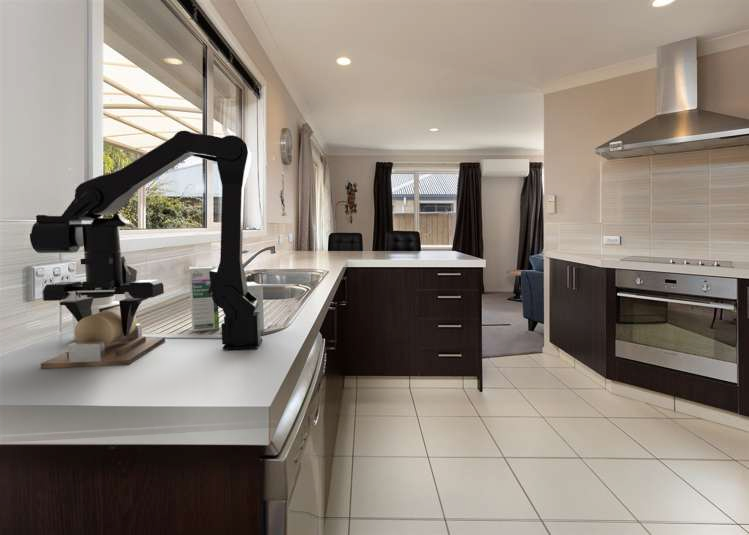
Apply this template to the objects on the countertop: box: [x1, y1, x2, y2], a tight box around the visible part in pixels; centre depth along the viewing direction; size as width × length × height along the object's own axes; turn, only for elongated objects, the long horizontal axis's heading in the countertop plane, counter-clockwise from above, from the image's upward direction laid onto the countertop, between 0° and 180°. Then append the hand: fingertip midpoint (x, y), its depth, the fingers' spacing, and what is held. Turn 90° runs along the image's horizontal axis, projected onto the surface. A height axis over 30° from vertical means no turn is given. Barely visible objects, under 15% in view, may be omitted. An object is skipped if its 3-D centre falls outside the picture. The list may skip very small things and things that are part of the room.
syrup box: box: [188, 265, 220, 333], centre depth 101 cm, size 6×6×14 cm
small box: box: [246, 281, 265, 332], centre depth 100 cm, size 8×6×10 cm
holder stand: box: [40, 323, 166, 369], centre depth 81 cm, size 14×16×4 cm
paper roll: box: [75, 306, 138, 347], centre depth 81 cm, size 6×10×6 cm, turn 5°
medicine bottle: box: [71, 287, 120, 340], centre depth 95 cm, size 7×7×12 cm
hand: (108, 335), depth 81 cm, fingers closed on paper roll, 6 cm apart
